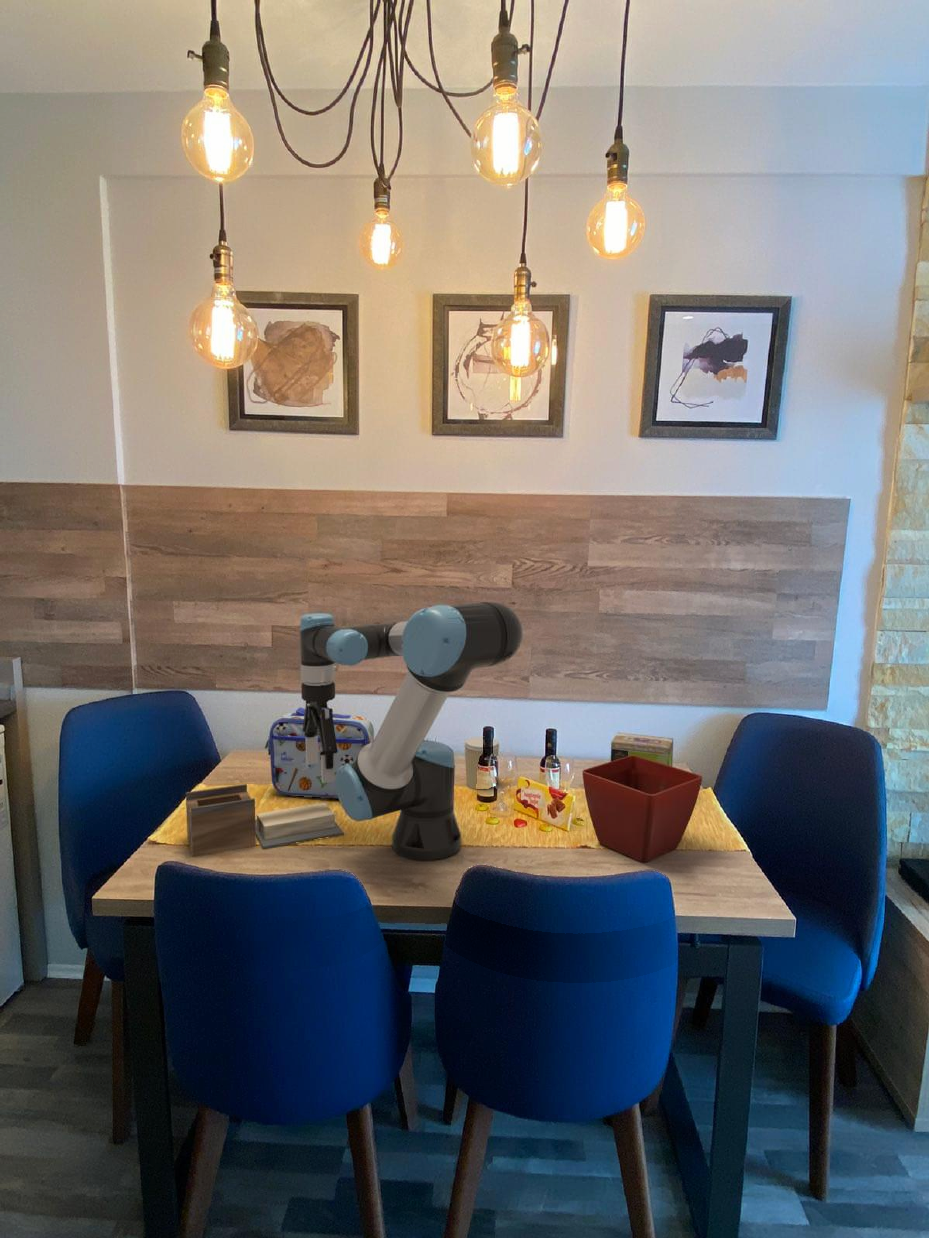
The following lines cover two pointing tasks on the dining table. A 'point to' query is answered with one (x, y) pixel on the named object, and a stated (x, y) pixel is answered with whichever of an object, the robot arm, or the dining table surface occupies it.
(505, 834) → the dining table surface
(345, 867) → the dining table surface
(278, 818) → the birch lid
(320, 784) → the lunch box
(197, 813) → the walnut box
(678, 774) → the plant pot
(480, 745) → the coffee cup
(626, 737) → the tea box
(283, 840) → the charcoal mat
